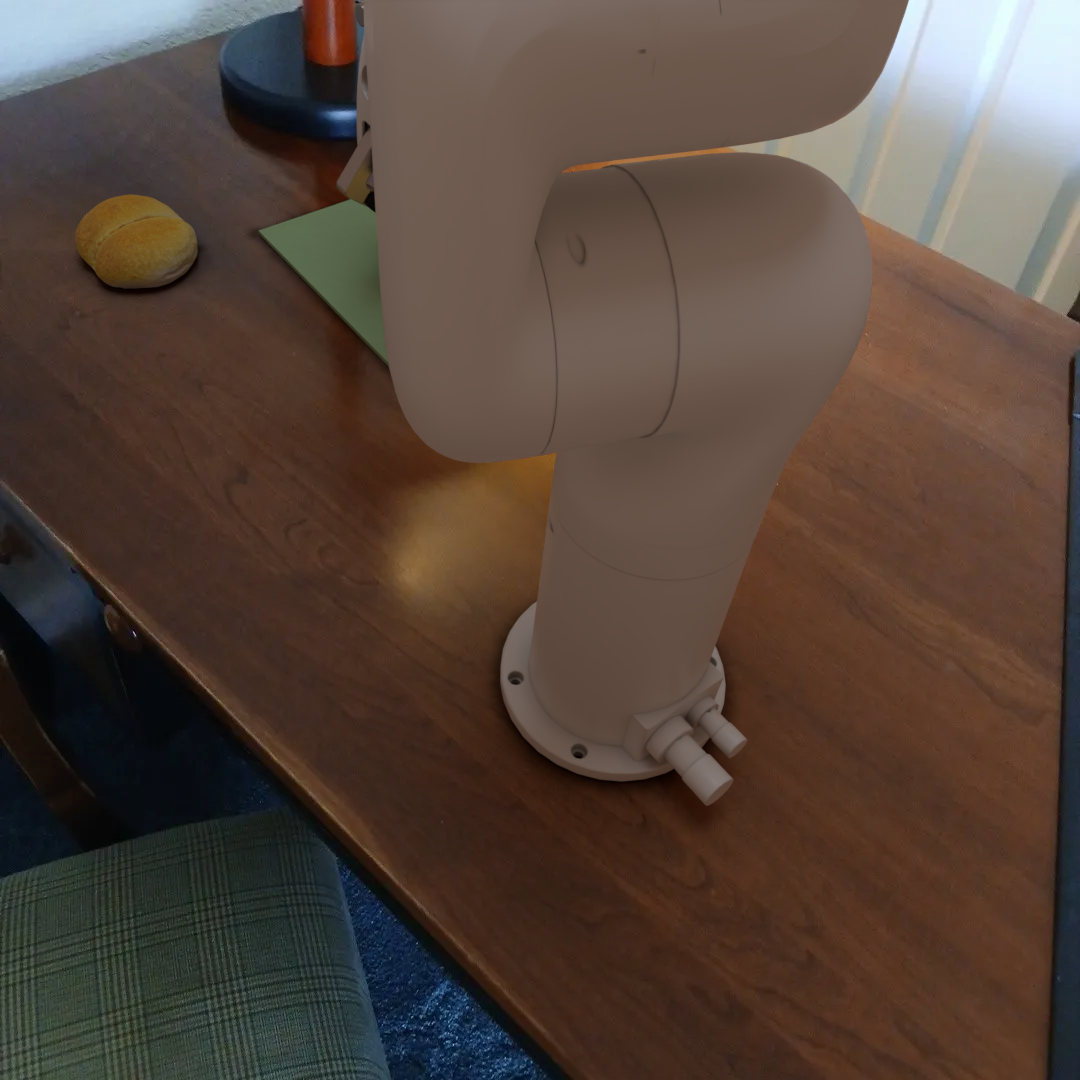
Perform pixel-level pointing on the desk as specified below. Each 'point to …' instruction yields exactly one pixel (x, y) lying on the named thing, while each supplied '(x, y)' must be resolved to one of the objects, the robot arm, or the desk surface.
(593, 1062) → the desk surface
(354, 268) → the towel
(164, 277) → the bread roll
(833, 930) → the desk surface
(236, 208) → the desk surface
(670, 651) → the robot arm
